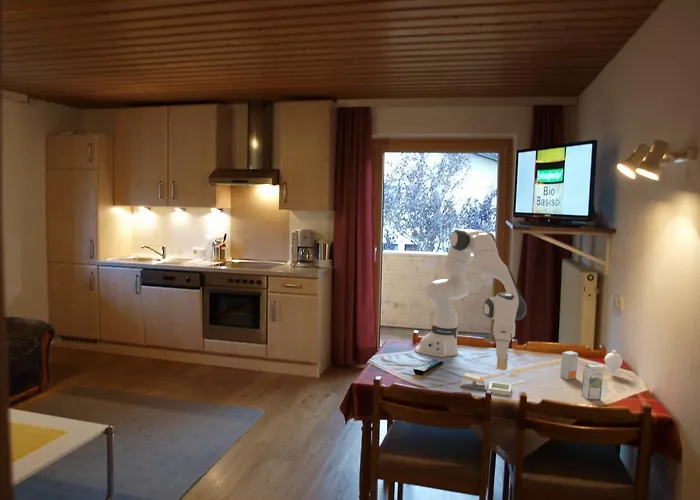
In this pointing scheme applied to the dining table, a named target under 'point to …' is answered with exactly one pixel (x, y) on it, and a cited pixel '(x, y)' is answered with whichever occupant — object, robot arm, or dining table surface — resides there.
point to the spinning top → (613, 361)
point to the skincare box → (569, 365)
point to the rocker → (474, 378)
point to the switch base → (473, 385)
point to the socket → (500, 388)
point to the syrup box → (592, 381)
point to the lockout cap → (503, 365)
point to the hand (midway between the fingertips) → (502, 363)
